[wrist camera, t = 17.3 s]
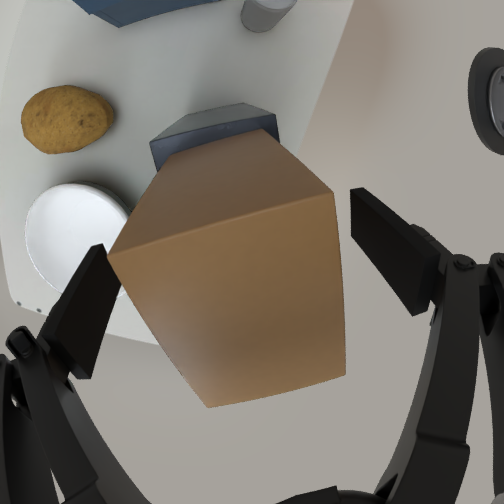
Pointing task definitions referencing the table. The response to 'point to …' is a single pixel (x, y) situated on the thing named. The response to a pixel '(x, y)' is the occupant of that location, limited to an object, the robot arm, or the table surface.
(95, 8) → the lid
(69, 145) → the potato
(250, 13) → the beverage can
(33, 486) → the robot arm
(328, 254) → the package
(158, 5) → the chest
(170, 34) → the table surface
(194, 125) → the stand
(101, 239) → the bowl
